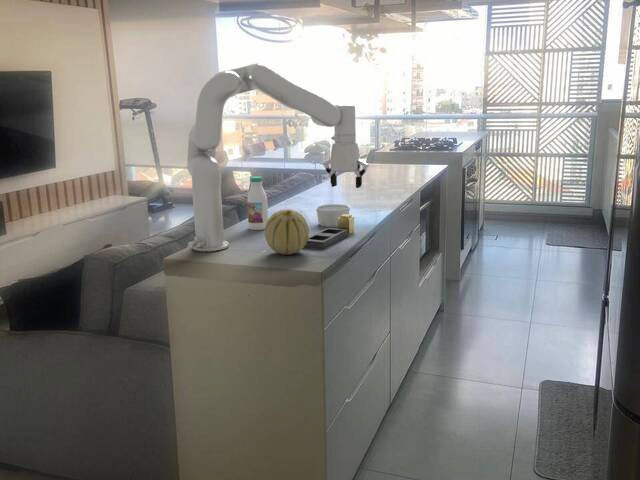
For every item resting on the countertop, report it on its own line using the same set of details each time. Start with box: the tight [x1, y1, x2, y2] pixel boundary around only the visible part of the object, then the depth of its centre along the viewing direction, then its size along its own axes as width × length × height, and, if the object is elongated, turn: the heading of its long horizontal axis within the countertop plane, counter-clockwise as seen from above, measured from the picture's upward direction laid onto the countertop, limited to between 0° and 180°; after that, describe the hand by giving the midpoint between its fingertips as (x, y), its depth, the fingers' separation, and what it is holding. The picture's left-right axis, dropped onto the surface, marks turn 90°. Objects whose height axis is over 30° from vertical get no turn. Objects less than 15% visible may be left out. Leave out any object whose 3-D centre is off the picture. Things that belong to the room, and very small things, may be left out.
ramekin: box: [315, 203, 351, 228], centre depth 242 cm, size 13×13×7 cm
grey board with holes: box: [303, 227, 349, 250], centre depth 216 cm, size 20×8×2 cm, turn 153°
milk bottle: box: [246, 176, 269, 231], centre depth 237 cm, size 8×8×20 cm
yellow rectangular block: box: [337, 214, 355, 236], centre depth 227 cm, size 4×4×7 cm
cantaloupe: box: [264, 208, 310, 255], centre depth 201 cm, size 15×15×15 cm
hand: (346, 186), depth 224 cm, fingers open, 9 cm apart
